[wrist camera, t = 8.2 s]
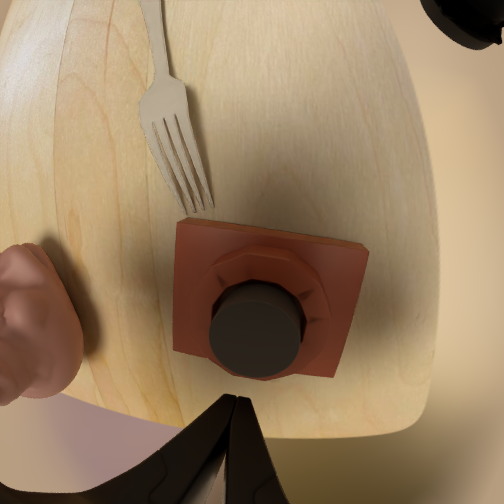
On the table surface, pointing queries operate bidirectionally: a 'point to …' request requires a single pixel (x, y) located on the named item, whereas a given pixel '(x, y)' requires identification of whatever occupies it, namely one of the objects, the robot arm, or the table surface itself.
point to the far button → (256, 331)
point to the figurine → (35, 327)
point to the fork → (168, 113)
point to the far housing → (270, 273)
